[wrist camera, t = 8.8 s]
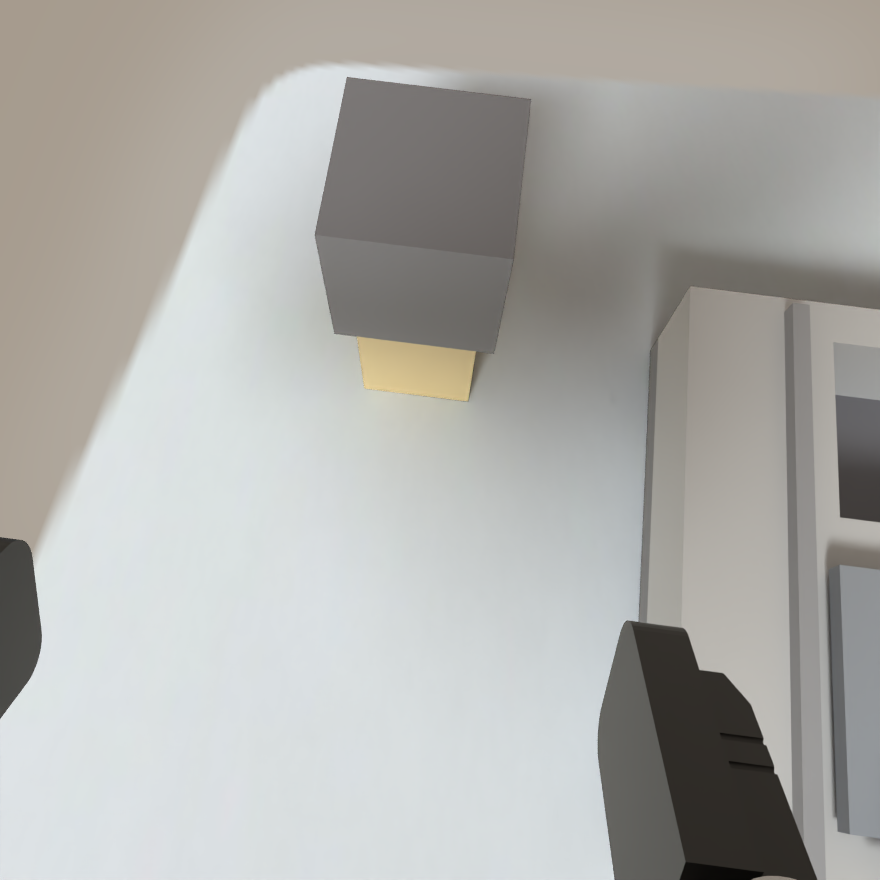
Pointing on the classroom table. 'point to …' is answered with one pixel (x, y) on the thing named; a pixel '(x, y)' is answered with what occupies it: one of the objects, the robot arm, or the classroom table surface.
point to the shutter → (856, 697)
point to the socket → (766, 518)
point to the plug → (421, 229)
